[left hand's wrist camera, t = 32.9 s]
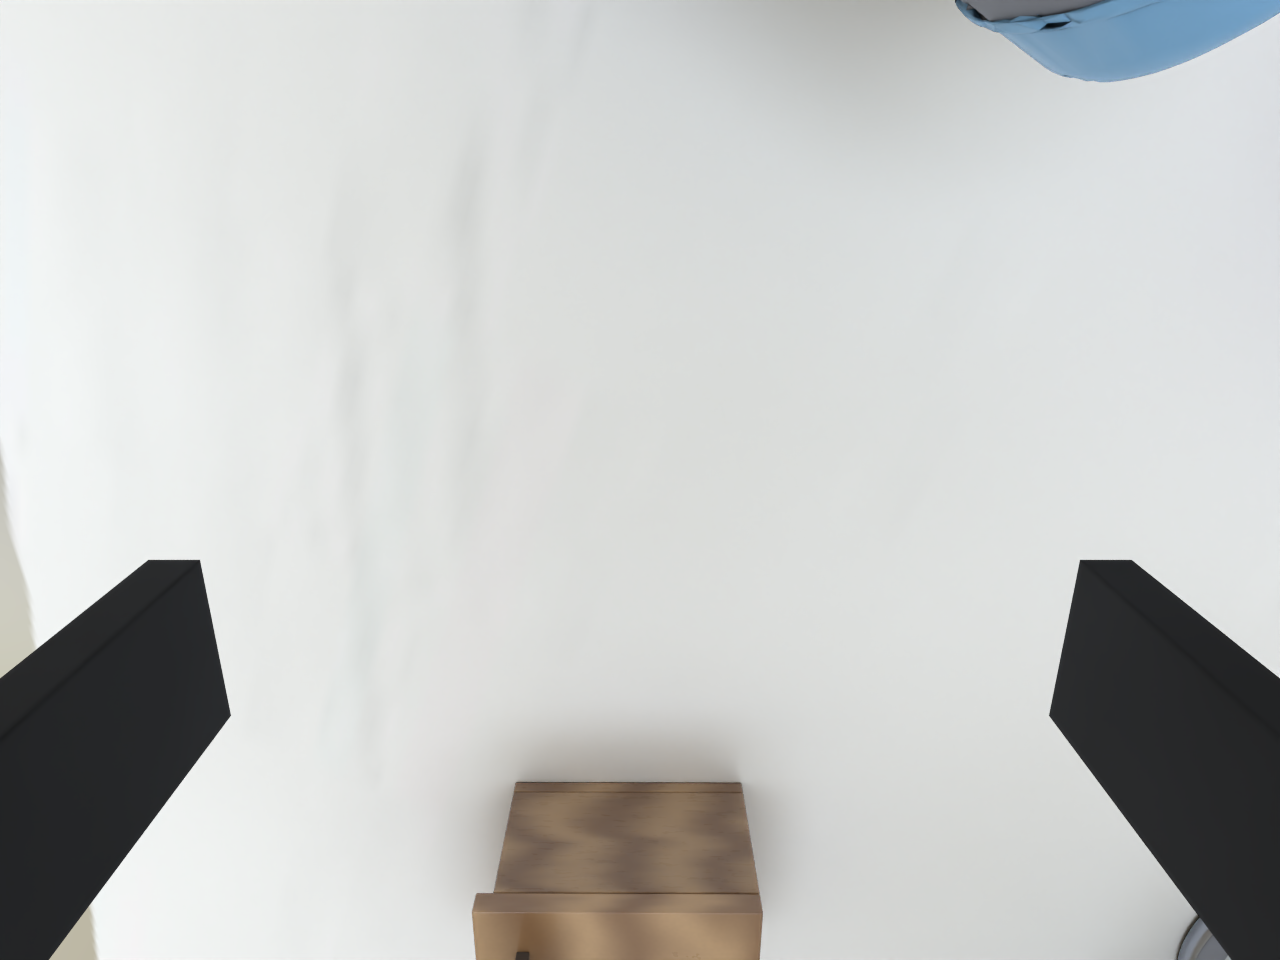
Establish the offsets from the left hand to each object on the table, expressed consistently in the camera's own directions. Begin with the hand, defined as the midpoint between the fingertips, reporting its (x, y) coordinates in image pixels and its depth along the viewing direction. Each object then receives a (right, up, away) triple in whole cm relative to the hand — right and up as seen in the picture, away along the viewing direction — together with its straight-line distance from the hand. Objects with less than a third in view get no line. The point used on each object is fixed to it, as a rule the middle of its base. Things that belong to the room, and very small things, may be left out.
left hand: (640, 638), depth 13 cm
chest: (-1, -22, +43) cm, 48 cm away
